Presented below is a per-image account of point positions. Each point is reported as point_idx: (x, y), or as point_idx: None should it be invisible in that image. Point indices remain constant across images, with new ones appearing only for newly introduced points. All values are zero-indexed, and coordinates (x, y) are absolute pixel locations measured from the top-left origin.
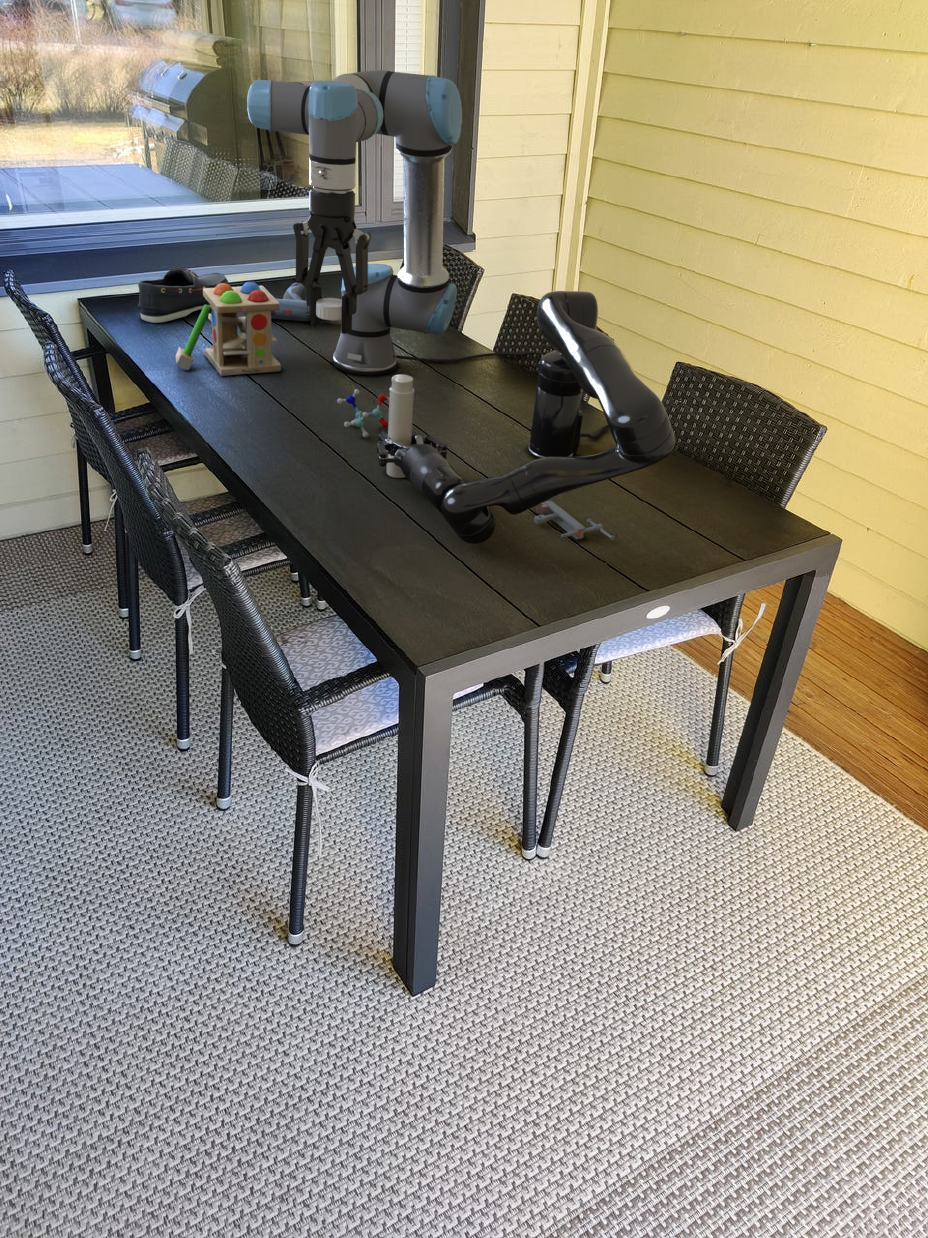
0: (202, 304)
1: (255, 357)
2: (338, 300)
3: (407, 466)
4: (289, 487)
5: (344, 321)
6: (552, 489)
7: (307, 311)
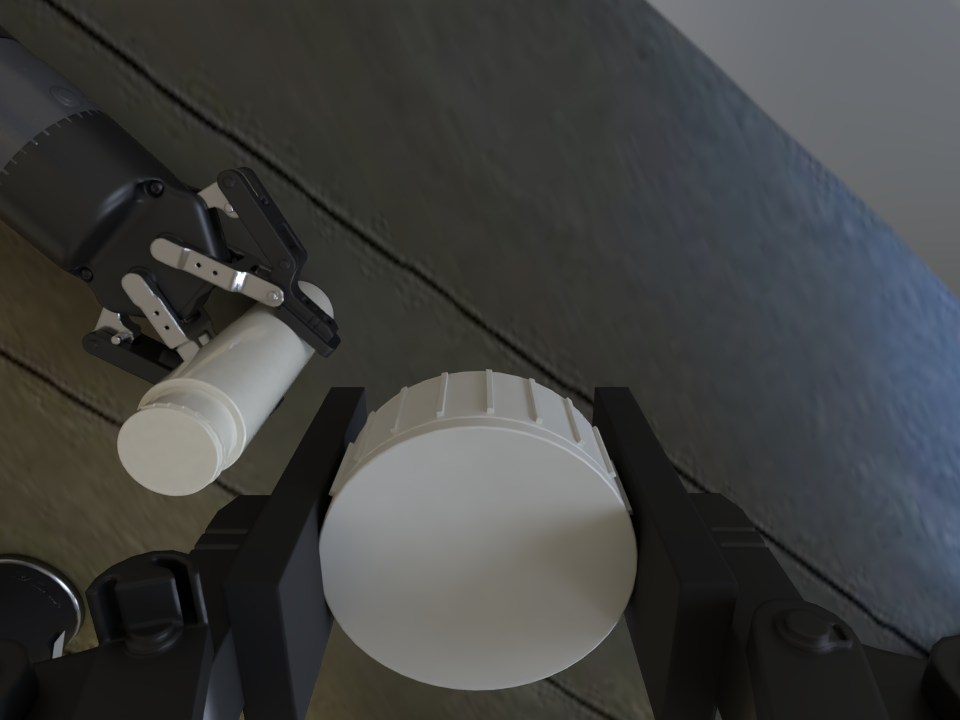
0: None
1: None
2: (448, 650)
3: (109, 133)
4: (536, 60)
5: (315, 428)
6: None
7: None
